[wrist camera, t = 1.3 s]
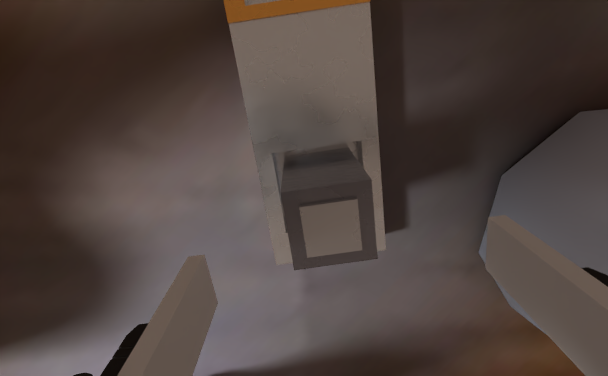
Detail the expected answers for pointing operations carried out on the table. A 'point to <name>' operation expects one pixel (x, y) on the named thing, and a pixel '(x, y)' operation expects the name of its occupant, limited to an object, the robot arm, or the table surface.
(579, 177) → the bottle
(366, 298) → the table surface
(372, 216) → the grey tall square block
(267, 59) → the rail
